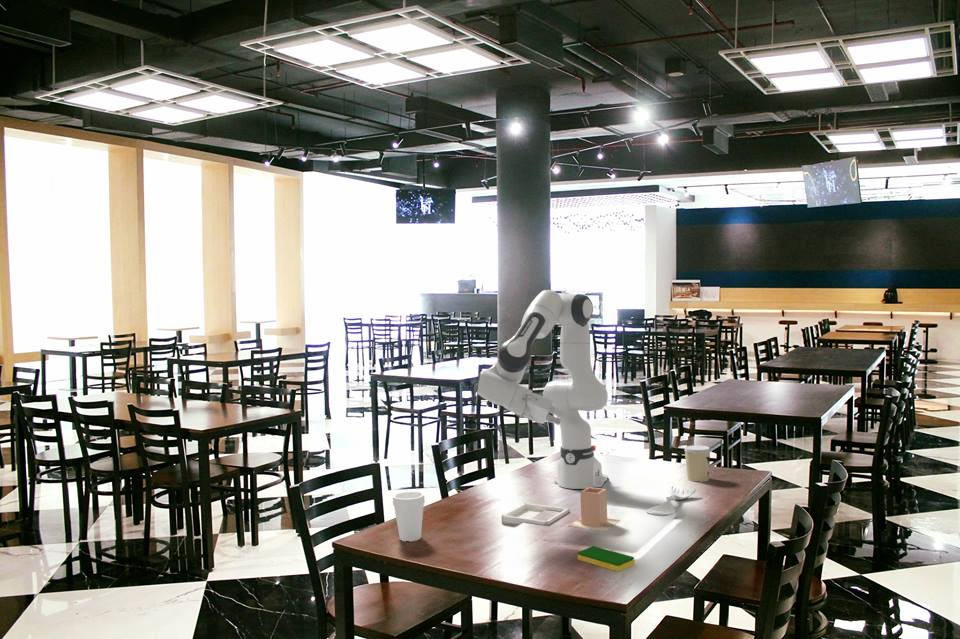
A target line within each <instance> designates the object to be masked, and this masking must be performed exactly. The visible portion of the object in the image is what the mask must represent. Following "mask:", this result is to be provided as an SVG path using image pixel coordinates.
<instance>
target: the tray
mask: <svg viewBox="0 0 960 639" xmlns="http://www.w3.org/2000/svg"><path fill="white" fill-rule="evenodd" d="M546 510H547V511H554V512H559V513H557V514H555V515H553V516H552V517H550V518H549V519H547V520H540V519H536V518H535V519H534V517H536V516H538V515H539V514H541V513H542V512H544V511H546ZM568 513H570V508H569V507H568V508H567V507H560V506H559V507H558V506H551V505H544V504H536V503H527V502H525V503H523V504H520V505H519V506H517V507H516V508H513V509H512V510H509V511H508V512H506V513H504V514H502V515H501V525H508V526H515V527H516V526H517V527H518V526H520V525H522V524H524V523H527V524H528V523H529V524H535V525H541V526H542V525H543V526H549V525H551V524H552V523H553V522H555V521H557V520H559V519H560V518H562V517H563V516H565V515H566V514H568ZM532 518H533V519H532Z"/></svg>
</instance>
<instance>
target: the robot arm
mask: <svg viewBox="0 0 960 639" xmlns="http://www.w3.org/2000/svg"><path fill="white" fill-rule="evenodd" d="M593 312H594V305H593V302H592V300H591V299H590V297H589V296H587V295H585V294H581V293H577V294H574V293H571V294H569V293H562V294H559V293H558V292H557V291H555V290H551V289H544V290H542V291H541V292H539V293H538V294H537V295H536V296H535V298H534V299H533V300H532V301H531V303H530V304H529V306H528V307H527V308H526V310H525V312H524V314H523V316H522V320H521V323H520V327H519V329H518V330H517V331H516V333H515V334H514V335H513V336H512V337H511V338H510V339H508V340H506V341H505V342H504V343H502V344H501V346H500V347H499V350H498V355H497V360H496V363H495V364H493V365H492V366H491V367H489V368H487V369H485V370H481V371H480V373H479V374H478V377H477V381H476V384H475V392H476V394H477V395H478V396H479V397H481V398H483V399H485V400H486V401H488V402H490V403H492V404H494V405H496V406H501V407H503V408H505V409H506V410H508V411H510V412H512V413H514V414H515V416H517V417H519V418H521V419H522V418H525V419H527V420H529V421H532V422H535V423H538V424H542V425H543V424H545V423H546V422H548V423H551V424H555V425H557V426H559V428H560V440H561V446H560V459H558V461H557V474H556V475H557V476H556V477H557V478H555V479H554V482H553V483H556V484H557V485H558V486H559V487H562V488H563V489H565V488H566V489H570V490H571V489H572V490H575V489H576V490H580V489H582V490H584V489H586V488H588V487H591V488H602V487H603V486H604V485H605V483H606V482H607V480H608V479H609V475H607V474H603V470H602V463H601V462H600V461H599V460H598V459H597V458H596V457H595V453H594V451H596V450H597V447H596V445H592V428H591V425H590V424H589V423H588V421H586V420H585V419H584V418H583V417H582V416H581V414H580V413H579V411H583V412H593V411H600V410H602V409H603V408H604V407H605V406H606V405H607V402H608V399H609V395H608V391H607V388H606V387H605V385H604V384H603V383H602V382H600V381H599V379H598V378H597V377H596V375H595V373H594V371H593V368H592V362H591V335H590V327H589V321H590V320H591V318H592V317H593ZM555 325H559V326H560V325H561V328H560V339H559V342H560V343H559V347H560V348H559V361H560V362H559V363H560V365H561V367H563V368H564V369H565V370H567V371H568V372H569V374H570V375H571V378H572V379H571V380H570V379H556V380H551V381H549V382H547V383H546V384H545V386H544V389H543V392H542V395H540V394H539V393H534V392H533V390H532V389H530V388H527V387H525V386H523V385H522V384H521V385H520V383H521V382H522V380H523V377H524V375H525V371H526V368H527V366H528V363H529V362H530V359H531V347H532V345H533V343H534V342H535V340H537V339H544V338H545V337H547V336H548V335H549V333H550V332H552V330H553V329H554V327H555ZM551 414H552V415H551ZM553 415H555V416H553ZM607 478H608V479H607ZM605 481H606V482H605ZM604 482H605V483H604Z"/></svg>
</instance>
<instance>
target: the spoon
mask: <svg viewBox="0 0 960 639" xmlns="http://www.w3.org/2000/svg"><path fill="white" fill-rule="evenodd" d="M669 490H670V491H669V495H670V496H667V497H666V501H664V502H663V503H660V504H658V505H655V506H652V507H649V508H648V509H647V510H645V512H646V513H647V514H648V515H652V516H657V517H661V516H662V517H665V516H671V515H673V514H675V513H677V510H676V508H675V507H674V506H673V504H672V503H671V502H672V501H676V500H680V501H681V500H685V499H688V498H690V497H691V496H692V495H693V494H695V493H696V491H697V488H694V489H690V490H689V489H687V490H686V492H685V489H682V490H681V491H680V488H678V489H677V488H676V487H675V488H674V487H673V486H671V487H670V489H669ZM652 511H655V512H652Z"/></svg>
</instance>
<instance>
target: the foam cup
mask: <svg viewBox="0 0 960 639" xmlns="http://www.w3.org/2000/svg"><path fill="white" fill-rule="evenodd" d="M392 504H393V506H394V514H395V518H396V524H397V530H398V536H399V541H401V540H402V542H406V541H409V542H416V541H419V540H420V539H421V537H422V529H423V528H422V527H423V518H424V517H423V516H424V505H425V493H424V492H421V491H416V490H412V491H411V490H408V491H401V492H397V493H394V494H393V495H392Z"/></svg>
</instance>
